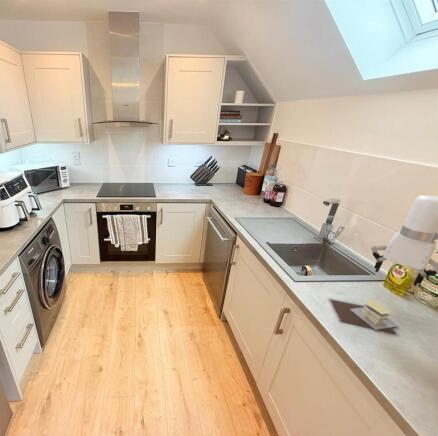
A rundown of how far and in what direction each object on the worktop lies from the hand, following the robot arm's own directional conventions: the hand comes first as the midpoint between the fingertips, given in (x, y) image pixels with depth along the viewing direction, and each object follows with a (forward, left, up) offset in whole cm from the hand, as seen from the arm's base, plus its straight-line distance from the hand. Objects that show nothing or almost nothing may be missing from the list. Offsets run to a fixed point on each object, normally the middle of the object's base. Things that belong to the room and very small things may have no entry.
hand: (395, 277), depth 82 cm
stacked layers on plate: (+1, +1, -19) cm, 19 cm away
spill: (+5, +1, -19) cm, 20 cm away
